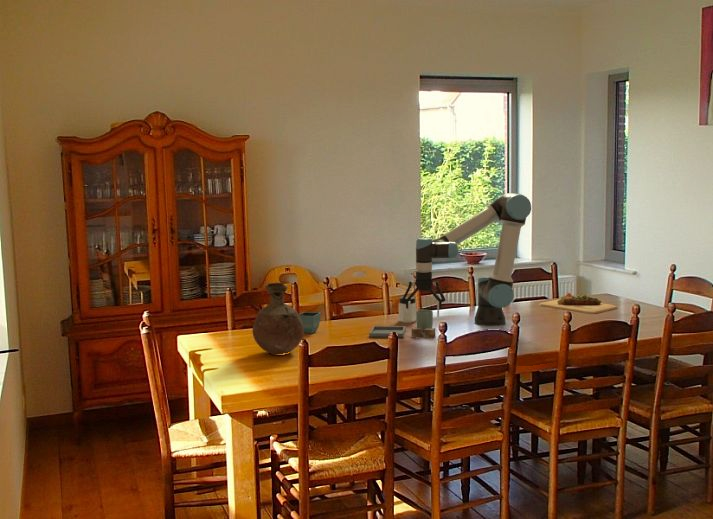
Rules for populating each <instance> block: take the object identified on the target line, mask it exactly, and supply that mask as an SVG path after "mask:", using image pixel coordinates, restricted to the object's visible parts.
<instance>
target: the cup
mask: <svg viewBox="0 0 713 519" xmlns="http://www.w3.org/2000/svg"><path fill="white" fill-rule="evenodd" d="M415 322H416V327H420V328H422V334H424V329H426V328H433V325H434V324H433V322H434V312H433V309H432V310H431V309H416V321H415Z"/></svg>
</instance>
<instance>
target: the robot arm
mask: <svg viewBox="0 0 713 519" xmlns="http://www.w3.org/2000/svg"><path fill="white" fill-rule="evenodd" d="M531 211H532V202H531V201H530V199H529V198H528V197H527V196H526V195H524V194H521V193H514V192H513V193H512V192H508V193H505V194H503V195H501V196H500V197H498V198H496V199H495V200H494V201H492V202H490V203H489V204H488V205H487V207H486V208H485V209H483V210H482V211H480V212H478V213H477V214H475V215H473V216H472V217H471V218H469V219H467V220H465V221H464V222H462V223H461V224H459V225H458V226H456V227H454V229H451V230H450V231H448V232H447V233H445V234H444V235H441V236H440V237H439V238H434V239H432V238H429V237H419V238H417V239H416V241H415V242H416V243H415V270H416V271H415V281H412V280H409V282H408V286H407V289H406V290H405V292H404V295H403V296H402V297H403V298H402V300H403V301H405V302H406V309H408V316H410V301H409V300H410V299H411V298H412V297H415V296H414V295H415V294H417V292H418V291H420V292H423V291H424V292H428V291H429V293H431V295H432V296H434V298H435V299H436V300H437V303H436V304H437V305H436V306H437V308H436V315H437V316H436V317H440V310H442V307H443V306H442V303H444V302H446V298H445V295H444V293H443V292H442V289H441V287H440V283H439V281H438V280H437V281H433V272H432V271H433V259H450V260H451V259H456V258H457V256H458V253H459V247H458V246H459V244H461V243H463V242H464V241H466V240H467V239H469V238H471V237H472V236H474V235H476V234H477V233H479V232H481V231H482V230H484V229H485V228H487V227H488V226H491V225H492V224H493V223H495V222H501V223H502V226H501V232H500V236H499V242H498V247H497V252H496V256H495V260H494V261H495V262H494V266H493V272H492V273H491V275H489V276H479V277H478V280H477V310H476V312H475V315H474V323H475V324H477V325H481V326H500V325H504V324H506V315H505V313H504V310H503V309H504V308H506V307H508V306H510V305H511V303H512V302H513V300H514V295H515V292H514V290H513V286H514V279H513V278H512V276H513V274H512V273H513V268H514V264H515V260H516V256H517V255H516V253H517V250H518V246H519V245H518V244H519V240H520V239H519V238H520V233H521V229H522V228H523V226H525V225H526V221H527V217H529V216H530V214H531ZM414 285H415V287H416V288H415V289H414V290H413V291H412V292H411V294H409V297H408V298H407V299H406V296H408V293H409V292H410V290H411V288H412V287H414ZM433 286H434V287H436V291H437V292H438V294H439V295H440V296H439V295H438V294H437V293H436V292H435V290H434V289H433V288H432V287H433ZM440 297H441V298H440Z"/></svg>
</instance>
